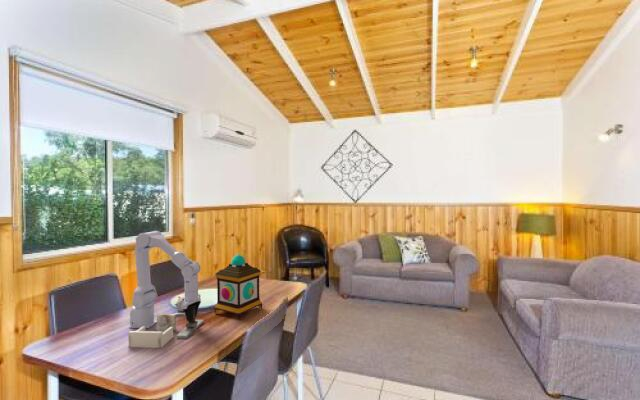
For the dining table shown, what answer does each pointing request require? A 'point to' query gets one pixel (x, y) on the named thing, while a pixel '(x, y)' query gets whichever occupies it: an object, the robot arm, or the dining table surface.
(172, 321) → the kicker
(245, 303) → the decorative lantern
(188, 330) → the rail
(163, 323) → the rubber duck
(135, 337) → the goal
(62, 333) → the dining table surface
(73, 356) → the dining table surface
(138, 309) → the robot arm
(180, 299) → the game die
